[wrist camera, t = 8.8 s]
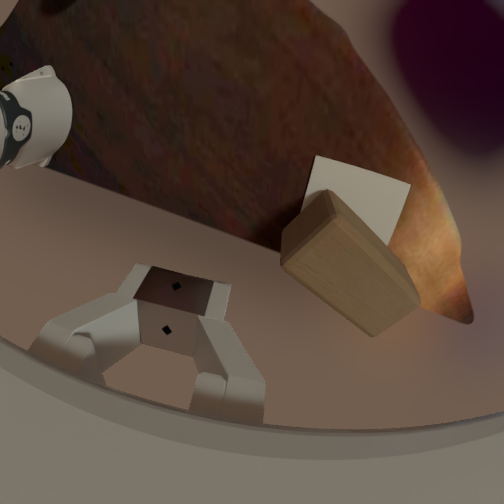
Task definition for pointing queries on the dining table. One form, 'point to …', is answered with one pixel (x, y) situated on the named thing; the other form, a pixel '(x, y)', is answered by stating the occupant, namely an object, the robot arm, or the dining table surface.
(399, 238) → the dining table surface
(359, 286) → the wooden block
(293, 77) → the dining table surface
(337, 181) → the mat
